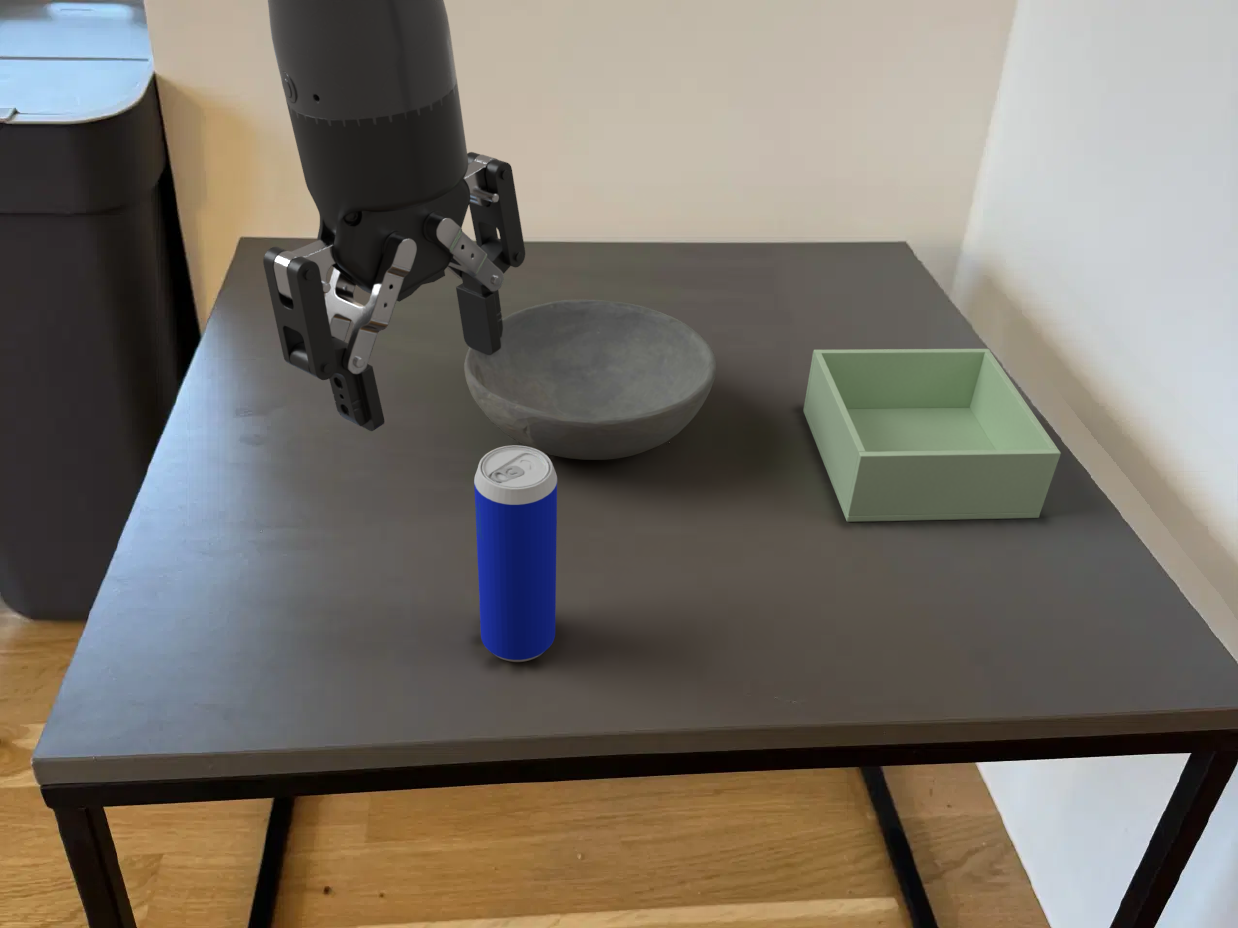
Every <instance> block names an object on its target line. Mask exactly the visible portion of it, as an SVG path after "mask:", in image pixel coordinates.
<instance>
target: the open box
mask: <svg viewBox="0 0 1238 928" xmlns="http://www.w3.org/2000/svg"><path fill="white" fill-rule="evenodd" d="M811 356H812V357H811V363H810V369H809V375H808V380H807V387H806V392H805V393H806V394H805V398H804V404H803V410H802V411H803V414H804V416H805V418H806V422H807V424H808V427H809V430H810V432H811V434H812V437H813V440H814V442H815V444H816V447H817V450H818V452H819V455H820V457H821V460H822V462H823V465H824V467H825V470H826V472H827V475H828V478H829V480H830V482H831V485H832V488H833V490H834V493H835V495H836V498H837V501H838V503H839V505H840V508H841V511H842V513H843V516H844V518H845V520H846V522H847V523H852V522H854V523H856V522H857V523H859V522H898V521H899V522H900V521H904V522H905V521H948V520H949V521H952V520H955V521H957V520H997V519H998V520H1000V519H1002V520H1003V519H1004V520H1005V519H1039V518H1040V515H1041V512H1042V509H1043V506H1044V504H1045V500H1046V497H1047V495H1048V492H1049V489H1050V486H1051V484H1052V480H1053V477H1054V475H1055V471H1056V469H1057V466H1058V462H1059V459H1060V457H1061V454H1062V453H1061V451H1060V450H1059V449H1058V447H1057V446H1056V444H1055V443H1054V441H1053V439H1052V438H1051V437H1050V435H1049V434H1048V432H1047V431H1046V429H1045V428H1044V426H1043V425H1042V424H1041V422H1040V421H1039V419H1038V418H1037V417H1036V415H1035V414H1034V412H1033V411H1032V409H1031V408H1030V406H1029V405H1028V404H1027V402H1026V401H1025V400H1024V398H1023V396H1022V395H1021V393H1020V392H1019V391H1018V389H1017V388H1016V386H1015V385H1014V384H1013V381H1012V380H1011V379H1010V378H1009V376H1008V375H1007V373H1006V372H1005V370H1004V369H1003V367H1002V366H1001V364H1000V363H999V361H998V360H997V359H996V357H995V356H994V355H993V353H992V351H991V350H990V348H902V349H900V348H889V349H888V348H886V349H884V348H881V349H880V348H879V349H873V348H872V349H871V348H870V349H866V348H865V349H860V348H859V349H813V351H812V355H811Z"/></svg>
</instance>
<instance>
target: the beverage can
mask: <svg viewBox="0 0 1238 928" xmlns="http://www.w3.org/2000/svg"><path fill="white" fill-rule="evenodd" d="M473 479H474V480H473V483H474V507H475V509H474V511H475V528H476V529H475V531H476V553H477V555H476V556H477V576H478V578H477V580H478V599H479V600H478V603H479V623H480V626H479V627H480V639H481V642H482V644H483V645H484V647H485V648H486V649H487V650H488V652H490V653H491V654H493V655H494V656H495V657H496V658H499V659H501V660H504V661H507V662H512V663H522V662H527V661H531V660H534V659H536V658H538V657H540V656H541V655H542V654H544V653H545V652H546V651H547V650H548V649H550V647H551V646H552V644H553V643H554V641H555V637H556V613H557V612H556V611H557V610H556V607H557V606H556V603H557V599H556V597H557V534H558V533H557V532H558V531H557V530H558V529H557V528H558V527H557V526H558V517H557V516H558V476H557V473H556V469H555V467H554V464H553V462H552V461H551V458H549V456H548V454H546V453H544V452H541V451H539V450H537V449H534V448H531V447H527V446H525V445H519V444H518V445H512V444H511V445H505V446H500V447H497V448H494V449H492V450H490V451H488V452H487V453H485V454H484V455H483V456H482V457H481V459H480V460H479V463H478V465H477V468H476V471H475V475H474V478H473Z"/></svg>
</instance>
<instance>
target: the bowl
mask: <svg viewBox="0 0 1238 928" xmlns="http://www.w3.org/2000/svg"><path fill="white" fill-rule="evenodd" d="M502 322H503V332H502V337H501V338H500V341H501V348H500V349H499V350H498V351H496V352H495V353H493V354H492V355H486V354H484V353H481V352H479V351H477V350H474V349H472V348H470V347H469V346H468V350H467V352H466V354H465V355H466V356H465V360H464V365H463V369H464V376H465V380H466V384H467V387H468V389H469V392H470V394H471V396H472V398H473V400H474V402H475V403H476V404H477V406H478V407H479V409H481V411H482V412H483V413H484V414H485V416H486V417H487V418H488V419H489V420H490V421H491V422H492V423H493V424H494V425H495V426H496V427H498V428H499V429H500V430H501V431H502V432H503V433H505V434H506V435H508V436H509V437H510V438H511V439H513V440H515V441H517V442H518V443H520V444H521V445H523V446H527V447H531V448H534V449H537V450H539V451H541V452H543V453H544V454H546V455H550V456H556V457H560V458H566V459H573V460H574V459H575V460H585V461H586V460H587V461H591V460H592V461H599V460H600V461H601V460H602V461H603V460H616V459H622V458H627V457H628V458H629V457H631V456H635V455H636V456H637V455H639V454H642V453H645V452H647V451H650V450H652V449H655V448H657V447H660V446H661V445H663V444H665V443H667V442H668V441H670V440H672V439H673V438H675V436H677V435H678V434H679V433H681V431H683V430H684V428H685V427H686V426H687V425H689V423H690V422H691V421H692V420H693V419H694V418H695V416H697V414H698V413H699V411H700V409H701V408H702V407H703V405H704V404H705V402H706V400H707V398H708V396H709V394H710V392H711V390H712V387H713V385H714V382H715V379H716V374H717V359H716V356H715V354H714V350H713V348H712V347H711V346H710V344H709V342H708V341H707V340H706V339H705V338H704V337H703V336H702V335H701V334H700V333H699V332H697V331H696V330H695V329H693V328H692V327H691V326H689V324H687V323H685V322H684V321H681V320H680V319H677V318H676V317H674V316H671V315H670V314H667V313H664V312H661V311H659V310H656V309H653V308H650V307H648V306H643V305H640V304H634V303H629V302H623V301H614V300H604V299H563V300H555V301H549V302H545V303H540V304H536V305H533V306H529V307H526V308H523V309H520V310H518V311H514V312H512V313H510V314H508V315H507V316H505V317H502Z"/></svg>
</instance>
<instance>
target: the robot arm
mask: <svg viewBox="0 0 1238 928" xmlns="http://www.w3.org/2000/svg"><path fill="white" fill-rule="evenodd" d="M267 5H268V17H269V26H270V27H269V28H270V37H271V39H272V40H271V41H272V46H273V51H274V55H275V59H276V60H275V61H276V63H277V68H278V71H279V76H280V81H281V85H282V89H283V92H284V93H283V94H284V98H285V103H286V105H287V110H288V114H289V118H290V122H291V126H292V131H293V136H294V139H295V143H296V148H297V152H298V156H299V160H300V165H301V169H302V174H303V177H304V183H305V185H306V188H307V190H308V192H309V194H310V196H311V198H312V200H313V202H314V205H315V206H316V209H317V211H318V214H319V226H318V231H317V238H316V240H315V241H313V242H310V243H309V244H306V245H304V246H301V247H298V248H296V249H294V250H291V251H290V250H287V249H285V248H282V247H280V246H271V247H270V248H268V249H267V250H266V252H265V253H264V256H263V259H262V264H263V269H264V273H265V277H266V282H267V287H268V291H269V296H270V301H271V305H272V310H273V315H274V319H275V324H276V330H277V333H278V337H279V342H280V347H281V353H282V356H283V359H284V361H285V362H286V363H287V364H289V365H291V366H293V367H295V368H297V369H299V370H301V371H302V372H305V373H307V374H309V375H311V376H313V377H315V378H317V379H319V380H320V381H327V380H329V383H330V387H331V392H332V395H333V399H334V401H335V404H334V405H335V408H336V411H337V413H338V414H339V415H340V416H341V417H342V418H343V419H346V420H347V421H348V422H351V423H352V424H355V425H357V426H358V427H362V428H364V429H365V430H367V431H370V432H374V431H376V430H377V429H378V428H380V427H381V426H383V425H384V424H385V416H384V412H383V407H382V403H381V398H380V393H379V390H378V385H377V381H376V375H375V372H374V366H373V365H371V364H369V362H370V358H371V355H372V353H373V349H374V346H375V343H376V340H377V337H378V334H379V333H380V332H381V331H384V330H386V329H387V328H388V327H389V324H390V321H391V318H392V316H393V313H394V310H395V307H396V303H397V302H401V301H403V300H405V299H407V298H408V297H410V296H412V295H413V294H414V293H415V292H416V291H417V290H418V289H419V288H420V287H421V286H422V285H426V284H431V283H435V282H437V281H439V280H440V279H442V278H444V277H445V276H446V272H445V270H446V269H447V270H448V271H449V272H451V273H452V274H453V275H454V276H455V277H456V278H457V279H460V280H462V281H461V282H462V283H460V284H458V285H457V286H455V290H456V297H457V304H458V309H459V316H460V323H461V328H462V334H463V335H462V336H463V340H464V343H465V345H467V347H468V348H469V347H470V348H472V349H474V350H477V351H479V352H481V353H484V354H486V355H492V354H493V353H495V352H496V351H498V350H499V349H500V348H501V341H500V338H501V337H502V332H503V322H502V319H503V315H502V307H501V299H500V292H499V290H500V289H501V287H502V286H503V283H504V280H505V279H504V277H505V275H504V274H505V273H506V272H507V271H508V270H509V268H510V267H512V268H519V267H520V266H521V265H523V263H524V261H525V258H526V247H525V243H524V242H525V241H524V235H523V230H522V229H523V228H522V222H521V218H520V211H519V203H518V199H517V192H516V187H515V180H514V179H515V178H514V174H513V169H512V168H513V167H512V166H511V164H510V163H509V162H507V161H504V160H500V159H498V158H496V157H492V156H489V155H485V154H480V153H477V152H473V151H469V152H468V149H467V141H466V135H465V128H464V120H463V113H462V106H461V99H460V91H459V85H458V77H457V71H456V62H455V56H454V48H453V42H452V34H451V28H450V27H451V26H450V22H449V17H448V13H447V8H446V5H445V0H267ZM468 210H469V211H470V212H469V213H470V217H471V221H472V227H473V232H474V238H475V241H474V240H473V239H472V238H470V237H469V236H468V235H467V234H466V233H465V232H464V231H463V224H464V221H465V218H466V214H467V212H468ZM331 268H333V270H332V272H331V275H330V279H329V282H328V273H329V271H330V269H331ZM356 286H357V287H358V288H360V289H361V290H362V291H364V292H366V293H368V294H370V296H369V299H368V302H366V304H365V305H364V304H361V303H360V302H358V301H356V299H355V296H354V295H355V289H356ZM351 323H352V329H351V332H350V335H349V338H348V342H347V341H346V339H347V335H348V333H349V330H350V326H351Z"/></svg>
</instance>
